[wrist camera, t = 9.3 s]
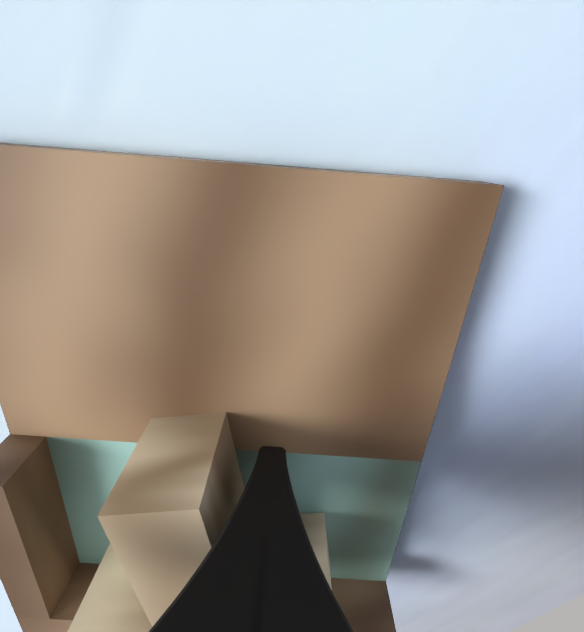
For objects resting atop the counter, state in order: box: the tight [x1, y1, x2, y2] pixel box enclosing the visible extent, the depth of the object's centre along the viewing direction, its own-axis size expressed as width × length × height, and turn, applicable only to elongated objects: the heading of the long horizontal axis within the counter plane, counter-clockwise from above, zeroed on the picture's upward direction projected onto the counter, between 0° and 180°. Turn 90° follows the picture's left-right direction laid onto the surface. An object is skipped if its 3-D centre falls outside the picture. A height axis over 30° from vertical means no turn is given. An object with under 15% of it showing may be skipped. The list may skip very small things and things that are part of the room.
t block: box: [68, 412, 332, 632], centre depth 12 cm, size 8×8×4 cm
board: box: [0, 143, 504, 632], centre depth 12 cm, size 14×17×3 cm
